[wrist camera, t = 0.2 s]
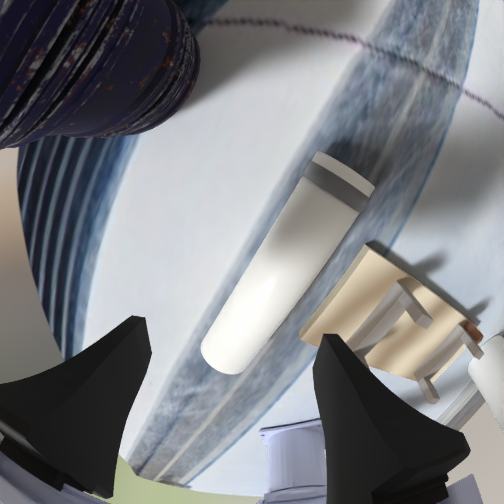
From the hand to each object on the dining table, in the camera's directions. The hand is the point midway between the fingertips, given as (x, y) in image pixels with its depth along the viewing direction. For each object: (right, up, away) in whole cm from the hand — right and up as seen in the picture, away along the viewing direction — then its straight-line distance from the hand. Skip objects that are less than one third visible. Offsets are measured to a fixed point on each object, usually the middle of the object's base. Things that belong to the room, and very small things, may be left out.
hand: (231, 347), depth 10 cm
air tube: (+2, +2, +7) cm, 8 cm away
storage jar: (-7, +16, +4) cm, 18 cm away
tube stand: (+16, -4, +11) cm, 20 cm away
